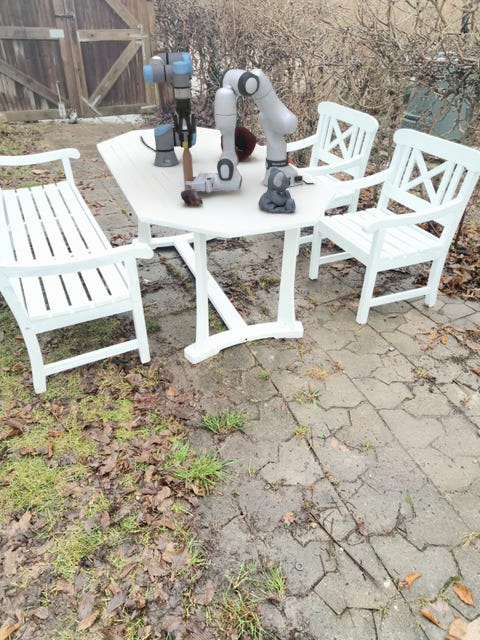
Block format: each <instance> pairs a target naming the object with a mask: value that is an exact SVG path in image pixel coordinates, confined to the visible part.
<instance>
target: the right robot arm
mask: <svg viewBox="0 0 480 640" xmlns="http://www.w3.org/2000/svg"><path fill="white" fill-rule="evenodd" d="M214 95H215V96H214V102H213V103H214V104H213V105H214V106H213V114H214V115H213V116H214V117H213V118H214V124H215V127H216V129H217V130H218V131H219V132H220V131H221V132H220V134H221V133H222V134H221V136H223V152H222V151H221V156H220V157H219V160H218V161H217V163H216V170H217V172H199V173H198V174H197V175H193V181H186V182H185V183H186V185H191V186H192V189H196V190H197V192H206V193H211V192H215V191H225V192H232V191H233V192H234V191H239V190H240V189H241V186H242V183H243V176H242V175H241V174H240V171H239V170H238V168H237V167H238V165H239V162H240V161H239V159H238V155H237V153H236V150H235V137H234V132H235V127H236V126H237V118H238V111H237V107H238V106H237V103H238V99H239V96H241V97H243V98H248V97H252V99H253V102H254V103H255V105H256V107H257V108H258V110H259V111H260V112H259V113H258V117H257V121H258V122H257V123H258V124H259V127H261V129H262V131H263V135H264V138H265V142H266V157H265V163H264V164H265V165H264V166H265V167H264V168H265V173H264V177H263V181H262V184H263V185H264V186H266V187H268V178H269V175H270V170H271V168H272V167H277V168H278V169H279V170H282V171H283V172H284V174H285V175H286V176H287V178H288V180H289V181H290V186H288V188H289V187H290V188H291V187H294V186H296V187H297V186H301V185H303V183H304V184H305V185H314V184H315V183H314V182H307V181H306V180H304V179H303V177H304V176H303V175H299V173H298V171H297V169H295V168H294V167H293V166H291V165H290V164H293V160H292V159H291V158H290V159H289V158H288V157H287V151H288V144H287V141H286V140H285V139H284V137H283V135H291V134H294V133H295V132H296V131H297V129H298V126H299V120H298V119H299V118H298V117H297V115H296V114H294V113H293V112H292V111H291V110H289V109H288V107H287V106H286V105H285V103H283V101H281V99H280V98H279V96H278V95H277V93H276V90H275V89H274V87H273V85H272V83H271V81H270V80H269V78H268V77H267V75H266V74H265V72H264V71H263V70H262V69H260V68H254V69H251V70H250V71H247V70H244V69H239V68H234V67H233V68H227V69H225V70H224V71H223V72H222V74H221V77H220V83H219V88H218V89H217V90H216V92H215V94H214Z"/></svg>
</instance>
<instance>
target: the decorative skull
mask: <svg viewBox="0 0 480 640" xmlns="http://www.w3.org/2000/svg"><path fill="white" fill-rule="evenodd" d="M219 132H220V134H221V135H220V149H221V153H222V152H223V136H222V133H221V131H220V130H219ZM234 137H235V150H236V153H237V155H238V159H239V162H241V161H244V160H246V159H249V157H251V156H252V154H253V153H254V150H255V148H256V146H257V137H256V136H255V135H254V133H253V132H252V131H251V130H250V129H248V128H247V127H244V126H241V125H240V126H239V125H236V127H235V132H234Z"/></svg>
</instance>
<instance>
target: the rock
mask: <svg viewBox="0 0 480 640" xmlns="http://www.w3.org/2000/svg"><path fill="white" fill-rule="evenodd" d="M180 197H181V200H182V201H183V202H184V203H185V205H187V206H189V207H191V206H192V207H193V206H201V205H203V204H204V202H203V199H202V197H199V195H198V191H197V190H196V189H188V190H185V189H184V190H181V192H180Z"/></svg>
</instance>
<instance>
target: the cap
mask: <svg viewBox="0 0 480 640" xmlns="http://www.w3.org/2000/svg"><path fill="white" fill-rule="evenodd" d="M182 144H183V147H182V148H183V149H184V148H188V141H185V142H182Z"/></svg>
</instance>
